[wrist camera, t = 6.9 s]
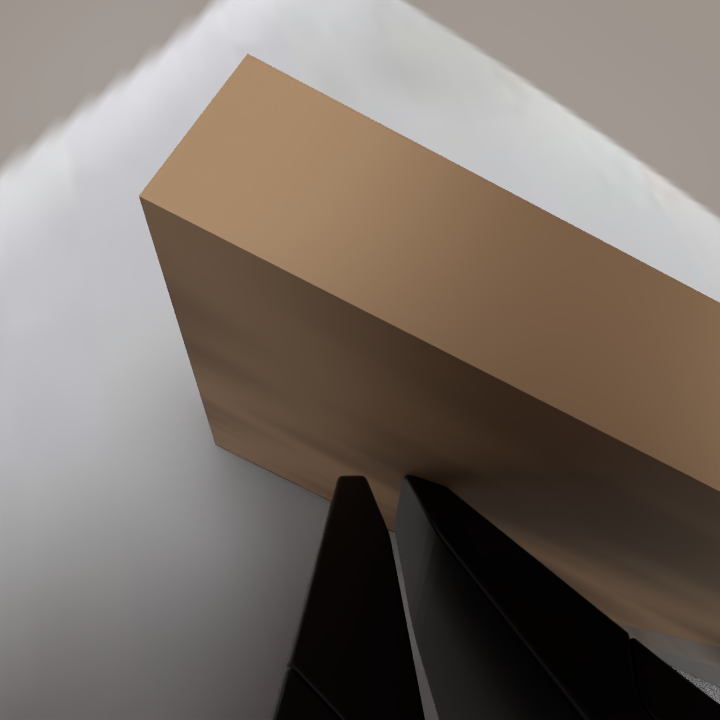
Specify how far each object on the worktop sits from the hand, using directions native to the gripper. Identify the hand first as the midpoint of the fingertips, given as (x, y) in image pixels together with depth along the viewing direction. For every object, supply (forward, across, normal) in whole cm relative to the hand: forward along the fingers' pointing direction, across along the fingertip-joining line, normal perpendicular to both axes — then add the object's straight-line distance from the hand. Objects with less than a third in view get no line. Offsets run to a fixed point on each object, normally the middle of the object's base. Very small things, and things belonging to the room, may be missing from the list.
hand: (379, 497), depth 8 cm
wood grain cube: (+5, -3, +5) cm, 7 cm away
